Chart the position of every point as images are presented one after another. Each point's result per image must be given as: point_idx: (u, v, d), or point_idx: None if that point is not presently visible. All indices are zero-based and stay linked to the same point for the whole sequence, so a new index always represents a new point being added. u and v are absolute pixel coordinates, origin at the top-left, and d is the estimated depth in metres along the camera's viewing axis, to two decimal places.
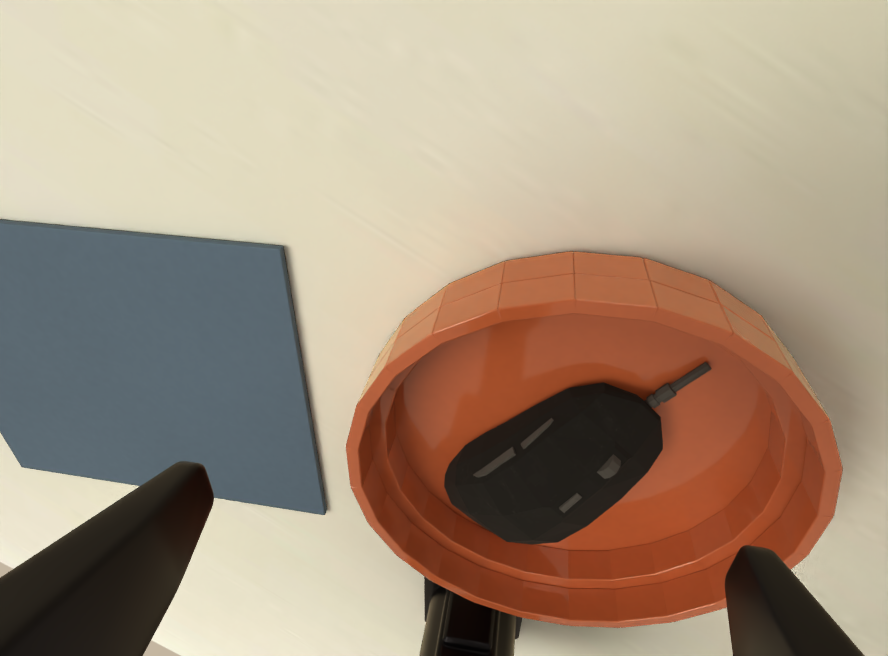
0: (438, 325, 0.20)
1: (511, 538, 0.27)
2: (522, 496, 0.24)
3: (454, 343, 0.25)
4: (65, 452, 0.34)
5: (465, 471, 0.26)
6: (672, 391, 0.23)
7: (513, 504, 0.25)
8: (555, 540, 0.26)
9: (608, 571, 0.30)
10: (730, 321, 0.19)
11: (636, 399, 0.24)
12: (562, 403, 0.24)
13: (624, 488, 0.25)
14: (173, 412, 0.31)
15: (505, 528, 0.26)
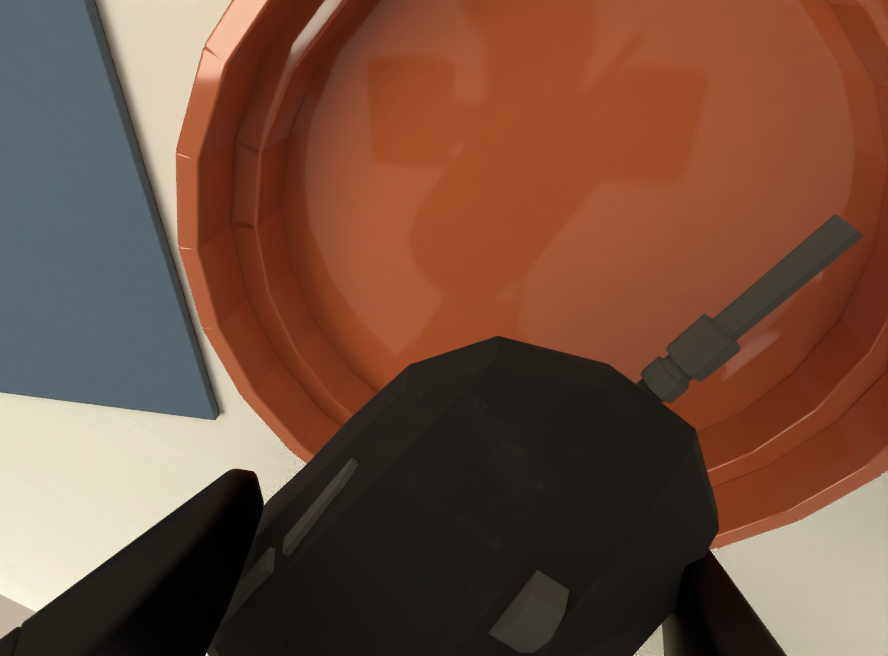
0: None
1: None
2: None
3: (358, 78, 0.15)
4: None
5: None
6: (722, 338, 0.07)
7: None
8: None
9: None
10: None
11: (603, 377, 0.07)
12: (385, 411, 0.08)
13: None
14: None
15: None
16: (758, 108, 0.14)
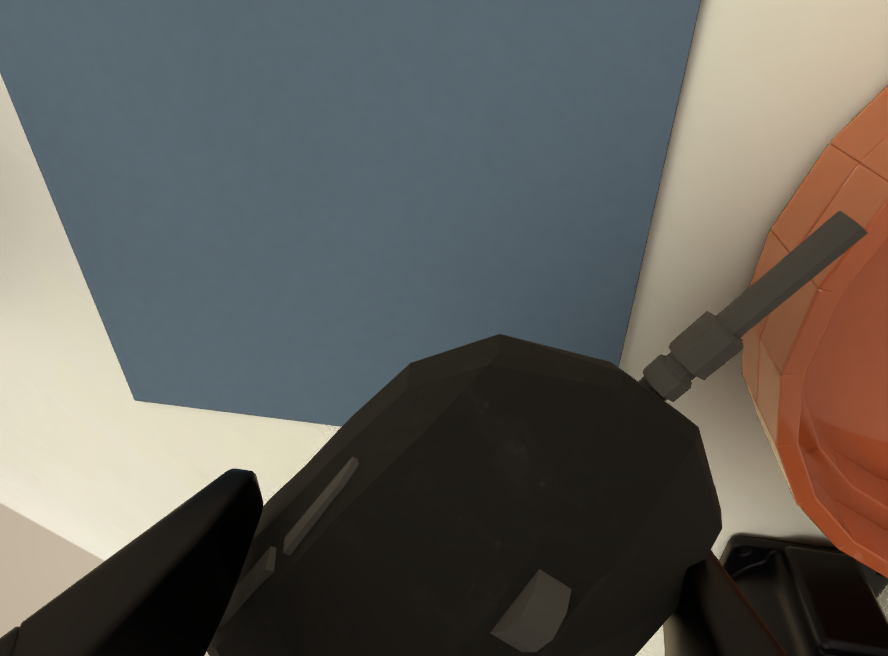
0: None
1: None
2: None
3: None
4: (206, 372, 0.24)
5: None
6: (726, 336, 0.07)
7: None
8: None
9: None
10: None
11: (606, 375, 0.07)
12: (386, 410, 0.08)
13: None
14: (400, 290, 0.20)
15: None
16: None
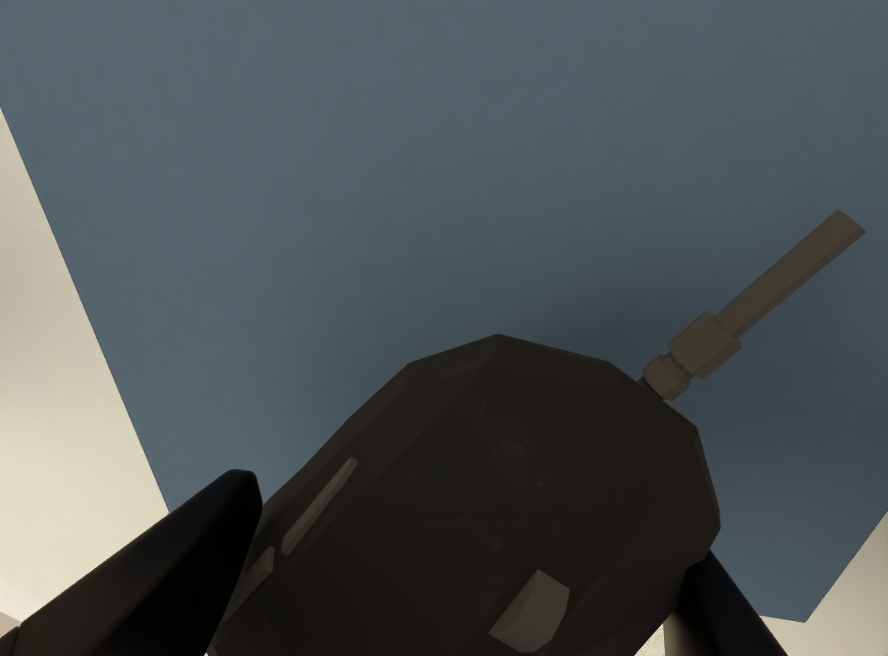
0: None
1: None
2: None
3: None
4: None
5: None
6: (724, 335, 0.07)
7: None
8: None
9: None
10: None
11: (604, 375, 0.07)
12: (385, 410, 0.08)
13: None
14: None
15: None
16: None
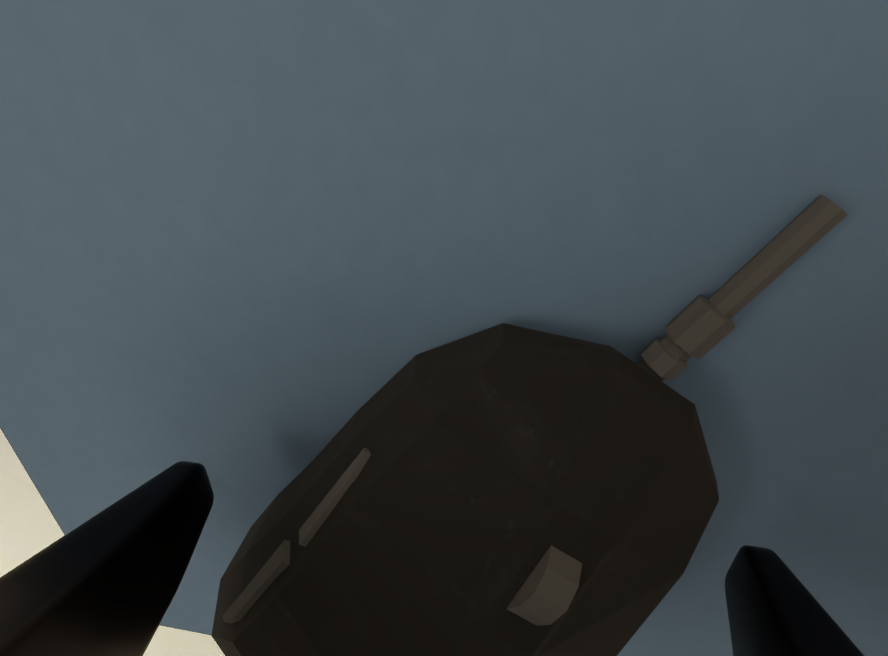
0: None
1: None
2: None
3: None
4: None
5: (224, 600, 0.11)
6: (719, 316, 0.07)
7: None
8: None
9: None
10: None
11: (606, 358, 0.07)
12: (395, 401, 0.08)
13: (619, 629, 0.08)
14: None
15: None
16: None
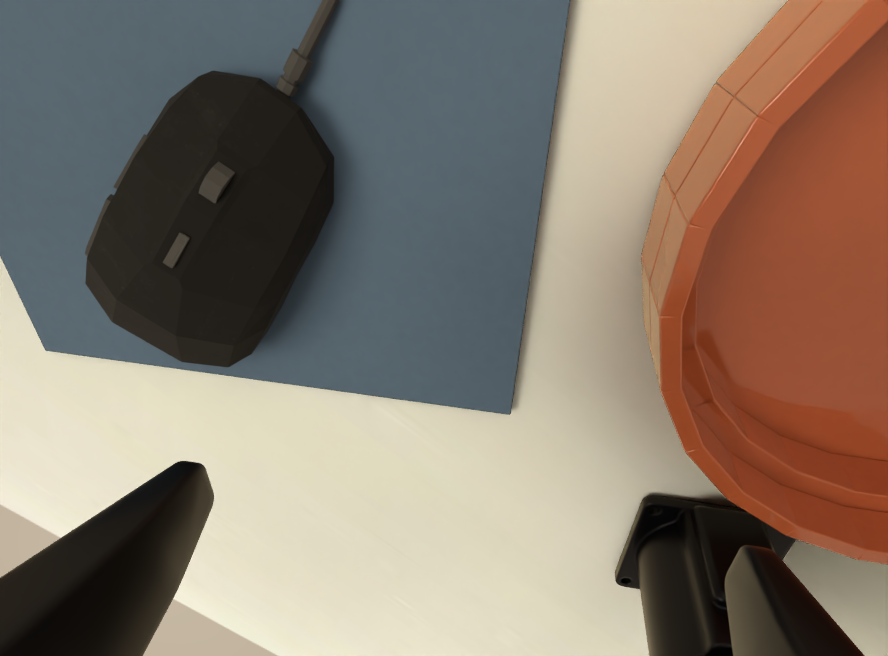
0: None
1: (172, 349, 0.19)
2: (122, 259, 0.16)
3: (878, 43, 0.14)
4: None
5: None
6: (297, 54, 0.15)
7: (119, 276, 0.17)
8: (223, 340, 0.18)
9: None
10: None
11: (251, 79, 0.16)
12: (162, 113, 0.16)
13: (276, 232, 0.16)
14: None
15: (147, 329, 0.18)
16: None
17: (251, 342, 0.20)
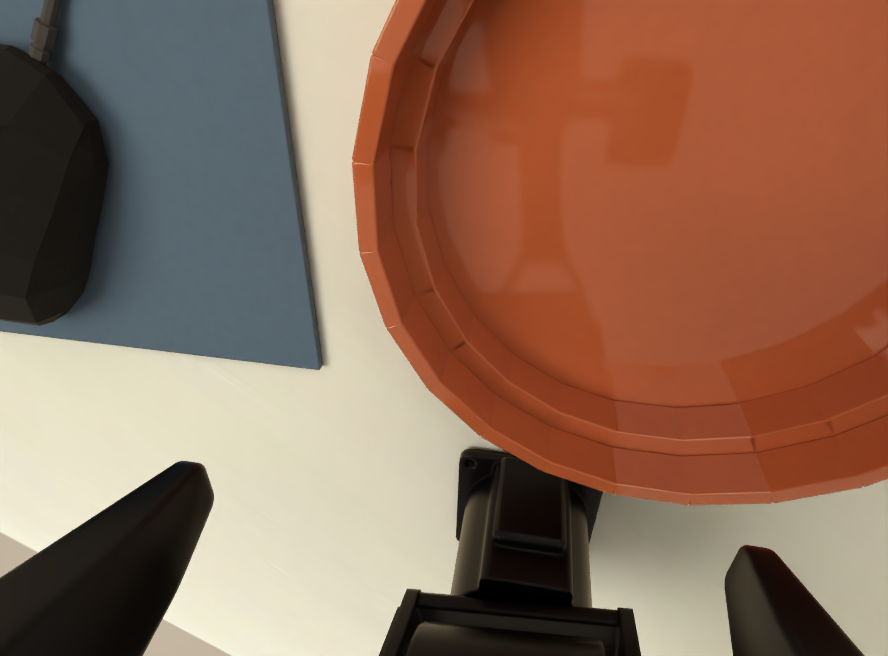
0: None
1: None
2: None
3: None
4: None
5: None
6: (39, 22, 0.17)
7: None
8: (12, 292, 0.20)
9: (744, 427, 0.20)
10: None
11: (2, 46, 0.17)
12: None
13: (39, 187, 0.18)
14: None
15: None
16: None
17: (53, 298, 0.21)
